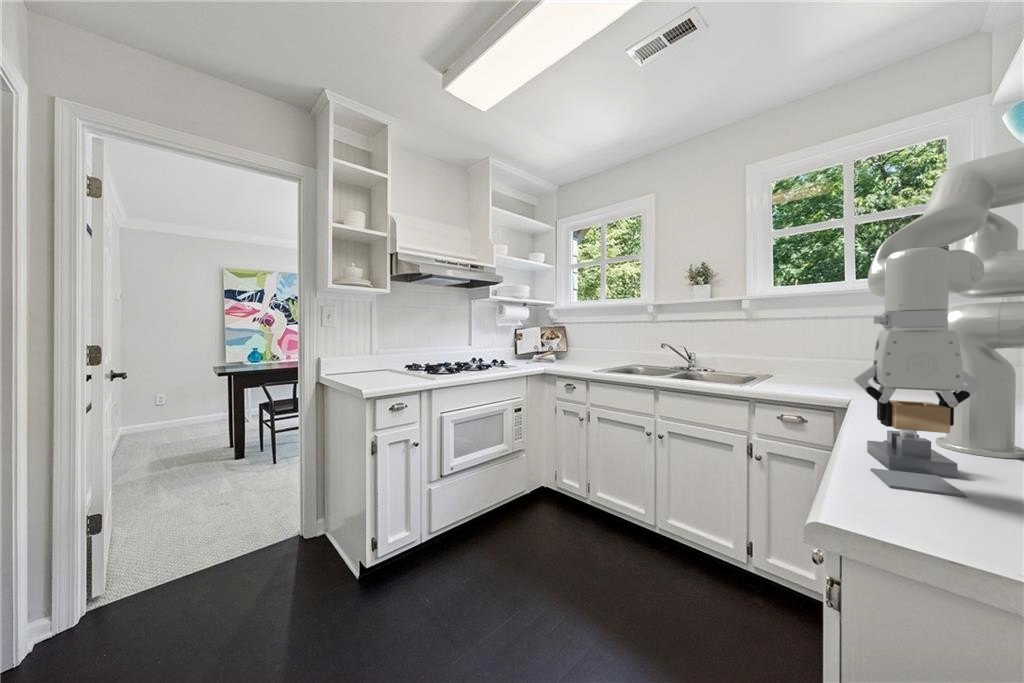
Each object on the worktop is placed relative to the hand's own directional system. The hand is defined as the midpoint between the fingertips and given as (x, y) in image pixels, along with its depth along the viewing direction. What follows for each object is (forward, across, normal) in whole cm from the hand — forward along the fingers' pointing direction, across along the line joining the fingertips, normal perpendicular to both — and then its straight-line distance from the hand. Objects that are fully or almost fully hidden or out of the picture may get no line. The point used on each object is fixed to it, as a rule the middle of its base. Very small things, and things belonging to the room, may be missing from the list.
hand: (913, 426), depth 66 cm
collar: (0, 0, 0) cm, 0 cm away
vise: (+9, +3, +15) cm, 18 cm away
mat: (+10, 0, 0) cm, 10 cm away
